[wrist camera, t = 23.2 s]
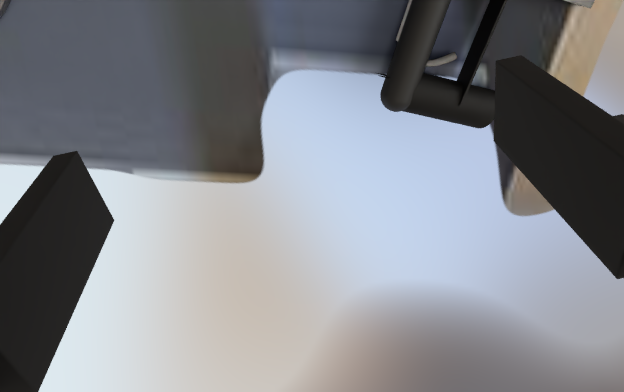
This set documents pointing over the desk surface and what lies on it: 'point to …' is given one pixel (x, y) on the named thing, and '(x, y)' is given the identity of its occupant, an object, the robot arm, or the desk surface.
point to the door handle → (436, 90)
